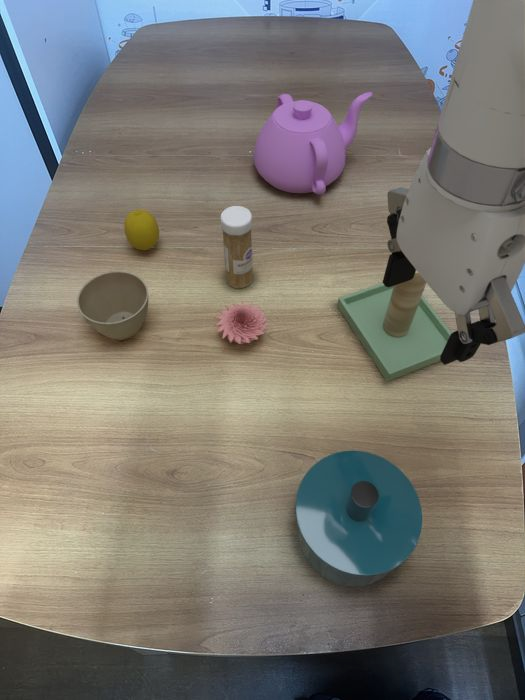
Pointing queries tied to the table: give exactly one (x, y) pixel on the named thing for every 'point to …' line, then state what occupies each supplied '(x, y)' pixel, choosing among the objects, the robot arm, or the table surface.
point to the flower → (242, 323)
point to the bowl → (114, 303)
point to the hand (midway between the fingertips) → (425, 317)
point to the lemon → (141, 229)
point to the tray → (394, 352)
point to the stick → (403, 306)
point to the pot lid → (358, 513)
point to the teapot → (304, 145)
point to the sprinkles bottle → (237, 245)
